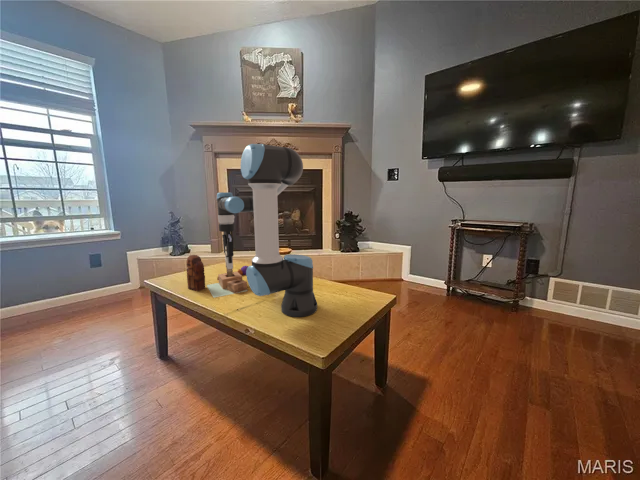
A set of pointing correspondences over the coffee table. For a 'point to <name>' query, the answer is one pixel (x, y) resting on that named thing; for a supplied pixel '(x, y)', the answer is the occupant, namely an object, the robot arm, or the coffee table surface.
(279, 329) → the coffee table surface
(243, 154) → the robot arm
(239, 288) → the brown holed brick
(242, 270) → the kendama
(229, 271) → the grey banded cylinder
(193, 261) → the wooden figurine
